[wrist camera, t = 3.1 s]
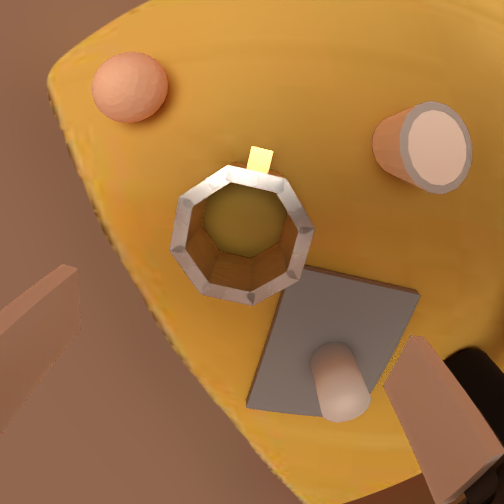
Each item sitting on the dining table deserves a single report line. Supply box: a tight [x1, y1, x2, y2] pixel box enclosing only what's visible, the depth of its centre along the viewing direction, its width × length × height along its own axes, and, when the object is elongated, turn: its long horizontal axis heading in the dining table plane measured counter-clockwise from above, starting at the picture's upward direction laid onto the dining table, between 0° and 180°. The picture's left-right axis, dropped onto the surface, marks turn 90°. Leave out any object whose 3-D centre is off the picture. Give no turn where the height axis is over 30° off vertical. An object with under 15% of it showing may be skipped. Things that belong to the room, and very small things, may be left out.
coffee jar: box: [444, 349, 504, 445], centre depth 25 cm, size 11×11×18 cm
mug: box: [170, 146, 315, 306], centre depth 23 cm, size 10×9×7 cm
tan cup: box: [372, 101, 472, 194], centre depth 21 cm, size 7×7×7 cm
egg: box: [92, 52, 168, 123], centre depth 20 cm, size 6×6×8 cm
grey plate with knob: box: [246, 265, 421, 422], centre depth 27 cm, size 18×14×8 cm
